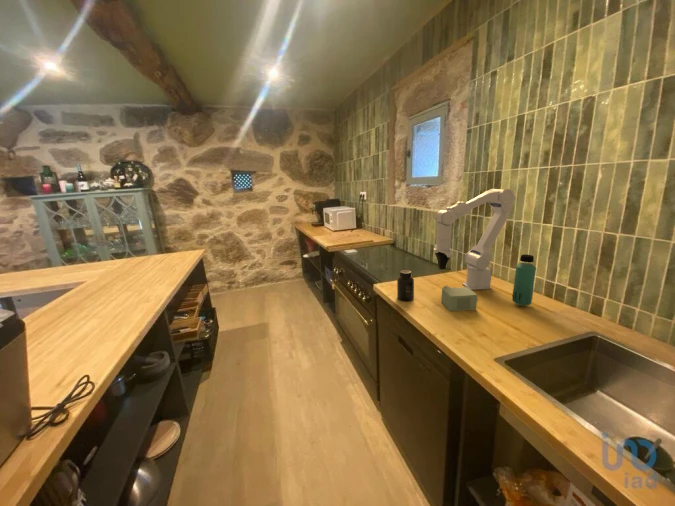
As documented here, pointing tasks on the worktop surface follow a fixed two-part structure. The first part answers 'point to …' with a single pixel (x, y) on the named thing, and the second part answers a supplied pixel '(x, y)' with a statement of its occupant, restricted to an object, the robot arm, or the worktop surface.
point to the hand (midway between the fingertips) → (442, 268)
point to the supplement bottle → (405, 286)
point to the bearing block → (459, 299)
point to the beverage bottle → (524, 281)
